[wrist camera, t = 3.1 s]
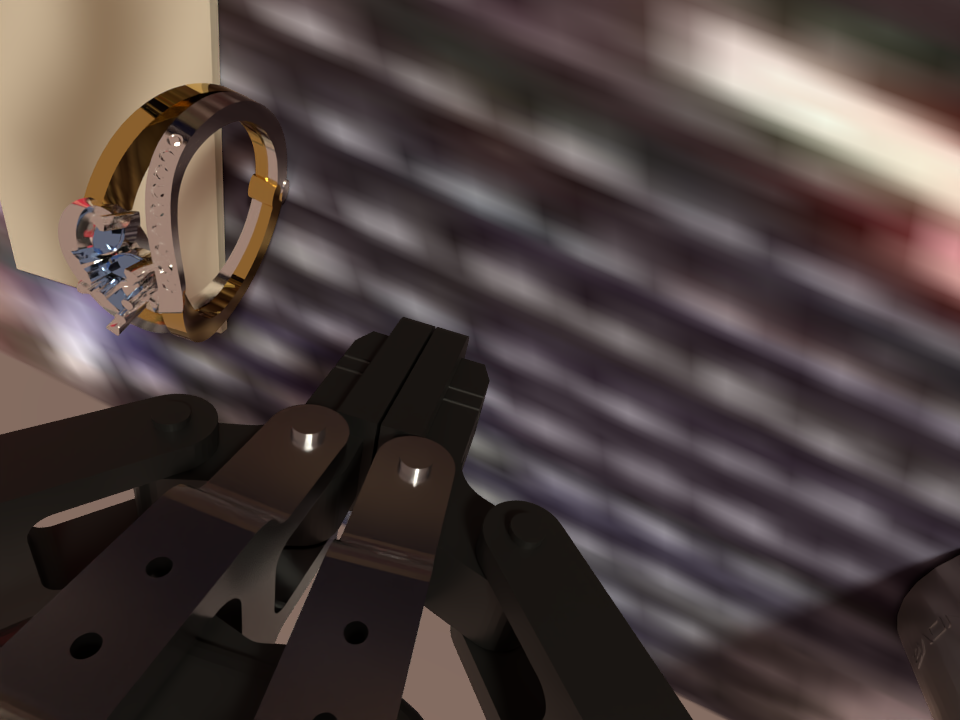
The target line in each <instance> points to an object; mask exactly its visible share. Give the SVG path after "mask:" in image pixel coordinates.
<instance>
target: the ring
mask: <svg viewBox="0 0 960 720" xmlns="http://www.w3.org/2000/svg"><path fill="white" fill-rule="evenodd" d="M237 121H240V122H241V124H242V125H243V126H244V127H245V129H246V130H247V132H248V134H249V136H250V138H251V140H252V144H253V147H254V152H255V161H256V174H253V176H252V177H251V180H250V183H249V189H248V196H249V197H250V198H252V201H251V206H250V210H249V213H248V216H247V220H246V223H245V225H244V228H243V231H242V233H241V235H240V238H239V240H238V242H237V244H236V246H235V248H234V250H233V252H232V254H231V255H230V257H229V259H228V260H227V262H226V263H225V265H224V266H223V268H222V269H221V271H220V272H219V273H218V274H217V276H216V277H215V278H214V279H213V280H212V282H211V283H210V284H209V285H208V286H207V287H206V288H204V289H203V290H202V291H201V292H200V293H198V294H197V295H196V296H194V297H193V298H191V299H189V300H188V298H187V296H186V294H185V291H186V282H185V275H184V269H183V263H182V257H181V250H180V243H179V233H178V197H179V191H180V186H181V182H182V179H183V176H184V173H185V170H186V168H187V166H188V164H189V162H190V160H191V159H192V157H193V155H194V154H195V153H196V151H197V150H198V149H199V147H200V146H201V145H202V144H203V143H204V142H205V141H206V140H207V139H208V138H209V137H210V136H211V135H212V134H214V133H215V132H216V131H218V130H219V129H220V128H222V127H224V126H226V125H228V124H230V123H233V122H237ZM148 167H149V169H148ZM147 169H148V174H147V180H146V188H145V217H146V228H147V235H148V237H147V236H146V234H145V232H144V231H143V229H142V228H141V226H140V213H139V211H131V210H132V209H133V205H134V201H135V198H136V195H137V192H138V189H139V186H140V184H141V181H142V179H143V177H144V175H145V173H146V171H147ZM286 176H287V149H286V142H285V137H284V133H283V130H282V128H281V125H280V123H279V122H278V120H277V118H276V117H275V115H274V114H273V113H272V112H271V111H270V110H269V109H268V108H266V107H265V106H263V105H262V104H260V103H258V102H256V101H254V100H252V99H250V98H248V97H246V96H244V95H242V94H240V93H238V92H236V91H234V90H231V89H229V88H227V87H224V86H221V85H216V84H210V83H195V84H187V85H183V86H179V87H176V88H173V89H170V90H168V91H165V92H163V93H161V94H159V95H157V96H156V97H154V98H152V99H151V100H149V101H148V102H146V103H145V104H143V105H142V106H141V107H140V108H138V109H137V110H136V111H135V112H134V113H133V114H132V115H131V116H130V117H129V118H128V119H127V120H126V121H125V122H124V123H123V124H122V125H121V126H120V127H119V129H118V130H117V131H116V132H115V134H114V135H113V136H112V138H111V139H110V141H109V142H108V144H107V145H106V147H105V149H104V150H103V152H102V154H101V156H100V158H99V159H98V161H97V164H96V166H95V168H94V170H93V172H92V175H91V177H90V180H89V183H88V185H87V188H86V192H85V195H84V198H82V199H79V200H76V201H74V202H72V203H71V204H69V205H68V206H67V207H66V208H65V209H64V211H63V212H62V214H61V217H60V219H59V224H58V239H59V244H60V248H61V251H62V253H63V256H64V258H65V260H66V262H67V264H68V266H69V267H70V269H71V271H72V272H73V274H74V275H75V276H76V278H77V279H78V281H79V282H78V283H77V290H78V292H80V293H82V294H83V293H87V294H90V295H91V296H92V297H93V298H94V299H95V300H96V301H97V302H98V303H99V304H100V305H101V306H102V307H103V308H104V309H105V310H106V311H108V312H109V313H110V314H112V315H113V316H115V319H114V320H113V321H112V322H111V323H110V324H109V325H107V327H106V328H107V329H109V330H110V331H111V332H113V333H114V334H116V335H118V336H119V335H120V334H121V332H122V331H123V330H124V329H125V328H126V327H127V326H128V325H129V324H132V325H135V326H137V327H139V328H142V329H144V330H147V331H151V332H156V333H170V332H171V333H172V334H174V335H176V336H179V337H182V338H185V339H188V340H191V341H194V342H202V341H205V340H206V339H208V338H209V337H211V336H212V335H213V334H214V333H215V332H216V331H217V330H218V329H219V328H220V327H221V326H222V325H223V324H224V322H225V321H226V320H227V319H228V317H229V316H230V315H231V313H232V312H233V311H234V309H235V308H236V306H237V305H238V303H239V302H240V300H241V299H242V297H243V295H244V294H245V292H246V290H247V289H248V287H249V285H250V283H251V282H252V280H253V278H254V276H255V274H256V272H257V270H258V268H259V266H260V264H261V262H262V259H263V257H264V255H265V252H266V250H267V248H268V245H269V242H270V240H271V237H272V234H273V231H274V228H275V225H276V222H277V219H278V215H279V212H280V208H281V204H282V202H283V203H284V201H285V200H286V197H287V194H288V191H289V180H287V179H286ZM127 211H128V212H127ZM95 226H96V227H95ZM94 229H95V230H94ZM118 252H120V253H118ZM148 302H149V303H150V305H151V307H146V304H147V303H148Z"/></svg>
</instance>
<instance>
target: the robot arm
mask: <svg viewBox="0 0 960 720" xmlns="http://www.w3.org/2000/svg"><path fill="white" fill-rule="evenodd" d="M468 341H469V336H466V335H463V334H459V333H456V332H453V331H449V330H446V329H442V328H439V327H437V328H436V329H435V326H432V325H429V324H425V323H422V322H419V321H415V320H412V319H409V318H405V317H403V318H401V320H400V321H399V323H398V324H397V325H396V327H395V328H394V330H393V331H392V333H391V334H390V336H387V335H384V334H381V333H377V332H374V331H373V332H371V333H369V334H367V335H365V336H363V337H361V338H359V339H357V340H355V341H354V343H353V344H352V345H351V346H350V348H349V349H348V350H347V352H346V353H345V355H344V357H342V358H341V359H340V360H339V362H338V363H337V364H336V367H335V368H333V369H332V371H331V372H330V373H329V374H328V376H327V377H326V378H325V380H324V381H323V382H322V383H321V385H320V386H319V387H318V389H317V390H316V391H315V392H314V394H313V395H312V396H311V397H310V399H309V400H308V401H307V403H306V404H304V405H296V406H291V407H288V408H286V409H283V410H281V411H279V412H278V413H276V414H275V415H274V416H273V417H272V418H271V419H270V420H269V421H268V422H267V423H266V424H265V425H240V424H224V423H218V414H217V411H216V409H215V408H214V407H213V405H212V404H210V403H209V402H208V401H206V400H204V399H202V398H199V397H197V396H192V395H186V394H168V395H162V396H157V397H153V398H149V399H145V400H141V401H137V402H132V403H128V404H124V405H120V406H116V407H112V408H108V409H104V410H100V411H96V412H91V413H87V414H84V415H79V416H75V417H71V418H67V419H63V420H59V421H54V422H50V423H46V424H42V425H38V426H34V427H30V428H26V429H22V430H18V431H14V432H9V433H6V434H1V435H0V720H423V718H422V717H421V716H420V714H419V713H418V712H417V711H416V710H415V709H414V708H413V707H412V706H410V705H409V704H408V703H407V702H406V701H405V700H404V699H403V698H402V695H403V691H404V687H405V682H406V678H407V674H408V669H409V665H410V662H411V657H412V653H413V649H414V645H415V641H416V636H417V632H418V628H419V624H420V619H421V616H422V611H423V607H424V606H425V607H426V608H428V609H429V610H430V611H432V612H433V613H434V614H436V615H437V616H438V617H440V618H441V619H442V620H444V621H445V622H447V623H448V624H449V625H451V630H450V631H451V637H452V640H453V643H454V646H455V648H456V650H457V653H458V655H459V657H460V660H461V662H462V664H463V666H464V669H465V671H466V673H467V675H468V678H469V680H470V683H471V685H472V687H473V690H474V692H475V694H476V696H477V699H478V701H479V703H480V706H481V708H482V710H483V713H484V715H485V717H486V720H693V719H692V718H691V716H690V715H689V713H688V712H687V710H686V709H685V707H684V706H683V704H682V703H681V701H680V700H679V698H678V697H677V695H676V694H675V692H674V691H673V689H672V688H671V687H670V685H669V684H668V682H667V681H666V679H665V678H664V676H663V675H662V673H661V672H660V670H659V669H658V667H657V666H656V664H655V663H654V661H653V660H652V658H651V657H650V655H649V654H648V652H647V651H646V649H645V648H644V647H643V645H642V644H641V642H640V641H639V639H638V638H637V636H636V635H635V633H634V632H633V630H632V629H631V627H630V626H629V624H628V623H627V621H626V620H625V618H624V617H623V615H622V614H621V612H620V611H619V609H618V608H617V607H616V605H615V604H614V602H613V601H612V599H611V598H610V596H609V595H608V593H607V592H606V590H605V589H604V587H603V586H602V584H601V583H600V581H599V580H598V578H597V577H596V575H595V574H594V572H593V571H592V569H591V568H590V566H589V565H588V564H587V562H586V561H585V559H584V558H583V556H582V555H581V553H580V552H579V550H578V549H577V547H576V546H575V544H574V543H573V541H572V540H571V538H570V537H569V535H568V534H567V532H566V531H565V529H564V528H563V526H562V525H561V524H560V522H559V521H558V520H557V519H556V518H555V517H554V516H553V515H552V514H551V513H550V512H548V511H547V510H545V509H544V508H542V507H540V506H538V505H535V504H533V503H529V502H525V501H506V502H503V503H500V504H498V505H496V506H495V505H493V504H492V503H490V502H488V501H487V500H485V499H484V498H482V497H481V496H480V495H478V494H477V493H476V492H475V491H474V490H473V489H472V488H471V487H470V486H469V484H468V483H467V481H466V480H465V478H464V475H463V472H462V469H463V466H464V463H465V461H466V458H467V455H468V452H469V449H470V446H471V443H472V440H473V437H474V434H475V431H476V427H477V424H478V420H479V417H480V413H481V409H482V406H483V402H484V399H485V395H486V392H487V388H488V384H489V378H488V374H487V371H486V367H485V365H484V364H480V363H477V362H474V361H470V360H467V359H464V358H465V354H466V350H467V346H468ZM132 488H134V493H135V499H132V500H129V501H126V502H123V503H120V504H117V505H114V506H111V507H108V508H105V509H102V510H99V511H96V512H93V513H90V514H87V515H84V516H81V517H78V518H75V519H72V520H69V521H66V522H63V523H60V524H57V525H54V526H51V527H45V528H36V527H33V526H34V525H35V524H36V523H37V522H39V521H40V520H42V519H44V518H46V517H48V516H50V515H52V514H56V513H58V512H62V511H65V510H68V509H71V508H74V507H77V506H80V505H83V504H86V503H89V502H93V501H96V500H99V499H102V498H105V497H108V496H111V495H114V494H117V493H120V492H123V491H126V490H129V489H132ZM348 511H352V512H351V515H350V517H349V520H348V522H347V524H346V527H345V529H344V532H343V534H342V536H341V538H340V540H337V532H338V529H339V527H340V526H341V524H342V522H343V520H344V518H345V516H346V514H347V513H348ZM318 569H319V570H318ZM317 571H318V573H317ZM316 573H317V575H316V578H315V580H314V582H313V584H312V587H311V589H310V592H309V594H308V596H307V598H306V600H305V603H304V605H303V607H302V610H301V612H300V614H299V617H298V619H297V621H296V623H295V626H294V628H293V630H292V633H291V635H290V637H289V640H288V642H287V644H286V645H285V644H275V641H276V639H277V636H278V634H279V632H280V630H281V628H282V626H283V624H284V623H285V621H286V619H287V618H288V616H289V615H290V613H291V612H292V610H293V609H294V607H295V605H296V604H297V602H298V601H299V599H300V598H301V596H302V594H303V593H304V591H305V590H306V588H307V587H308V585H309V584H310V582H311V580H312V579H313V577H314V576H315V574H316ZM897 632H898V634H899V637H900V640H901V643H902V645H903V648H904V650H905V652H906V655H907V657H908V660H909V662H910V664H911V667H912V669H913V672H914V674H915V676H916V679H917V681H918V684H919V686H920V688H921V691H922V693H923V696H924V698H925V700H926V703H927V705H928V708H929V710H930V712H931V715H932V717H933V720H960V555H959V556H957V557H955V558H953V559H951V560H949V561H947V562H945V563H943V564H942V565H940V566H938V567H936V568H934V569H933V570H932V571H931V572H929V573H928V574H927V575H926V576H924V577H923V578H922V579H920V580H919V581H918V582H917V583H916V584H915V585H914V586H913V588H912V589H911V590H910V591H909V593H908V594H907V595H906V596H905V598H904V599H903V602H902V604H901V607H900V609H899V612H898V614H897Z"/></svg>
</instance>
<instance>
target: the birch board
mask: <svg viewBox="0 0 960 720" xmlns="http://www.w3.org/2000/svg"><path fill="white" fill-rule="evenodd" d="M195 83H210V84H216V85H220V61H219V26H218V0H0V201H1V205H2V209H3V213H4V217H5V221H6V226H7V230H8V234H9V238H10V242H11V246H12V250H13V254H14V258H15V262H16V266H17V269H20V270H23V271H26V272H29V273H32V274H35V275H38V276H42V277H45V278H48V279H51V280H54V281H57V282H61V283H64V284H67V285H70V286H73V287H76V288H77V283H78V282H79V281H78V279H77V278H76V276H75V275H74V274H73V272H72V271H71V269H70V267H69V266H68V264H67V262H66V260H65V258H64V256H63V253H62V251H61V248H60V244H59V239H58V224H59V219H60V217H61V214H62V212H63V211H64V209H65V208H66V207H67V206H68V205H69V204H71V203H72V202H74V201H76V200H79V199H82V198H84V195H85V192H86V188H87V185H88V183H89V180H90V177H91V175H92V172H93V170H94V168H95V166H96V164H97V161H98V159H99V158H100V156H101V154H102V152H103V150H104V149H105V147H106V145H107V144H108V142H109V141H110V139H111V138H112V136H113V135H114V134H115V132H116V131H117V130H118V129H119V127H120V126H121V125H122V124H123V123H124V122H125V121H126V120H127V119H128V118H129V117H130V116H131V115H132V114H133V113H134V112H135V111H136V110H137V109H138V108H140V107H141V106H142V105H143V104H145V103H146V102H148V101H149V100H151V99H152V98H154V97H156V96H157V95H159V94H161V93H163V92H165V91H168V90H170V89H173V88H176V87H179V86H183V85H187V84H195ZM148 169H149V167H148ZM148 169H147V171H146V173H145V175H144V177H143V179H142V181H141V184H140V186H139V189H138V192H137V195H136V198H135V201H134V205H133V209H132V210H131V211H139V213H140V226H141V228H142V229H143V231H144V232H145V234H146V236H147V237H148V235H147V228H146V217H145V188H146V180H147V174H148ZM127 212H128V211H127ZM95 227H96V226H95ZM94 230H95V229H94ZM178 233H179V243H180V250H181V257H182V263H183V269H184V275H185V282H186V291H185V294H186V296H187V298H188V300H189V299H191V298H193V297H194V296H196V295H197V294H198V293H200V292H201V291H202V290H203V289H204V288H206V287H207V286H208V285H209V284H210V283H211V282H212V280H213V279H214V278H215V277H216V276H217V274H218V273H219V272H220V271H221V269H222V268H223V266H224V265H225V235H224V200H223V166H222V131H221V128H220V129H219V130H218V131H216V132H215V133H214V134H212V135H211V136H210V137H209V138H208V139H207V140H206V141H205V142H204V143H203V144H202V145H201V146H200V147H199V149H198V150H197V151H196V153H195V154H194V155H193V157H192V159H191V160H190V162H189V164H188V166H187V168H186V170H185V173H184V176H183V179H182V182H181V186H180V191H179V197H178ZM118 253H120V252H118ZM146 307H151V305H150V303H149V302H148V303H147V304H146ZM226 329H227V320H226V321H225V322H224V324H223V325H222V326H221V327H220V328H219V329H218V330H217V331H216V332H219V333H222V332H224V331H225V330H226Z"/></svg>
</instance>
